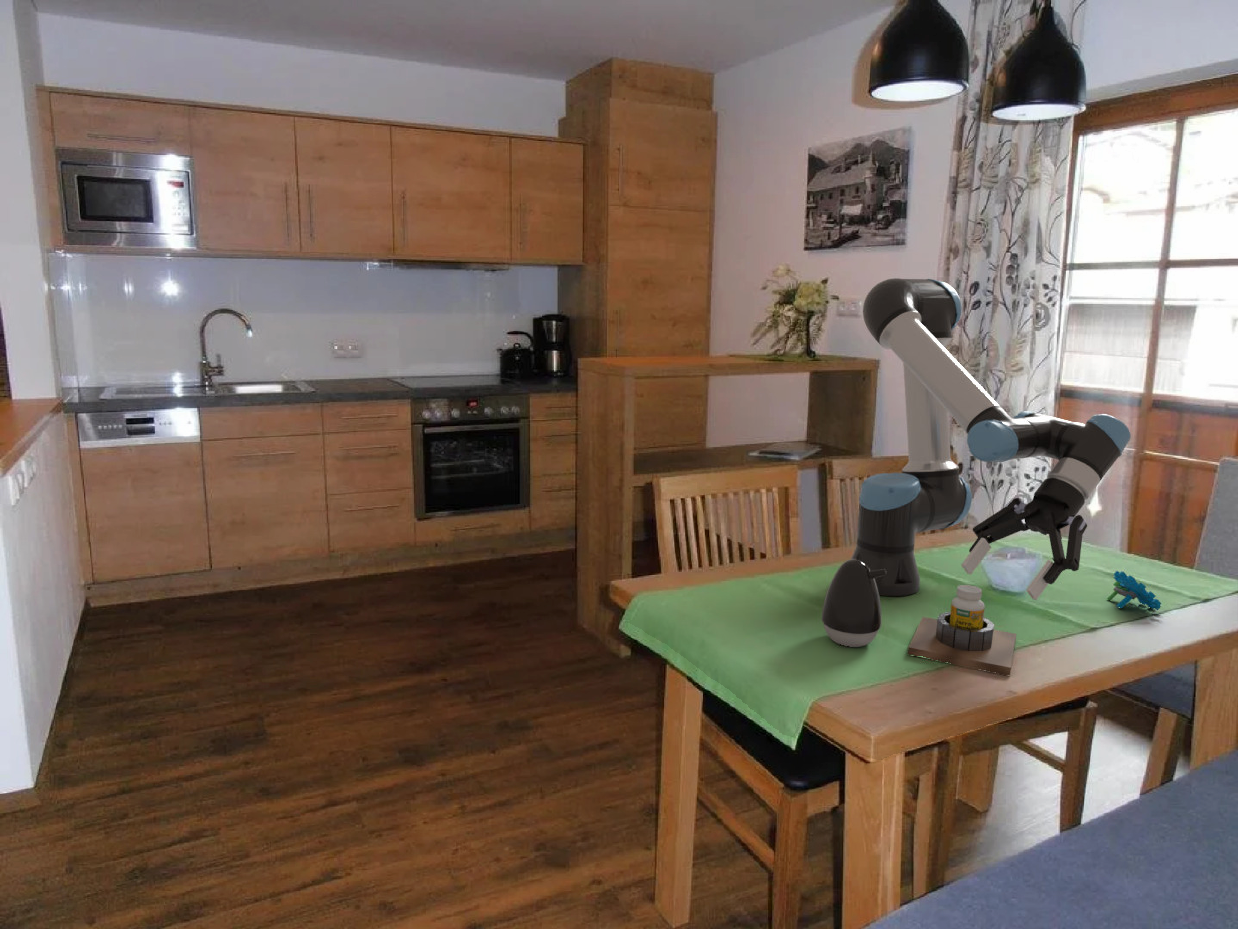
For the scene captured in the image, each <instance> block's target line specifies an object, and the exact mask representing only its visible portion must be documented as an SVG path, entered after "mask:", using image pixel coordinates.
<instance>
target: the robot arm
mask: <svg viewBox="0 0 1238 929" xmlns="http://www.w3.org/2000/svg"><path fill="white" fill-rule="evenodd" d="M962 310H963V309H962V302H961V299H960V296H959V294H958V292H957V291H956V289H955V288H954V287H953V286H951V285H950V284H949V283H947V282H944V281H942V280H936V279H931V278H926V279H924V278H923V279H922V278H921V279H920V278H916V279H915V278H899V277H898V278H895V277H894V278H888V279H885V280H882V281H881V282H878V283H877V284H875V285H874V286H873V287H872V288H871V290H869V292H868V293H867V295H866V297H865V299H864V301H863V306H862V315H863V322H864V324H865V326H866V328H867V330H868V332H869V333H870V334H871V336H872V338H873V339H874V340H875V341H876V342H877V343H878V344H879V345H880V346H881V347H882V348H883V349H886V350H891V351H892V352H893V354H895V355H896V357H898V359H899V360H900V361H901V362H902V364H903V379H904V396H905V398H904V400H905V411H906V412H905V413H906V414H905V416H906V418H905V419H906V432H907V435H906V436H907V451H908V452H907V453H908V462H907V463H906V464H905V465H904V466H903V468H902V469H901V472H891V473H888V472H887V473H886V472H883V473H877V474H873V475H870V476H869V477H867V478H866V479H864V481H862V483H861V489H860V493H859V498H858V501H859V504H858V506H859V508H858V518H857V519H858V521H857V534H856V546H855V549H854V551H853V554H852V556H851V557H850V560H851V559H858V560H861V561H863V562H865V563H866V564H867V565H868V567H869V568H870V570H871V571H872V570H880V569H885V570H886V575H884V576H880V577H877V578H874V579H875V581H876V584H877V588H878V592H879V596H884V597H887V596H888V597H902V596H903V597H904V596H905V597H906V596H909V595H912V594H913V595H914V594H915V593H917V592H919V590H920V585H921V584H920V583H921V577H920V573H919V569H918V565H917V561H916V556H915V541H916V540H915V539H916V534H918V533H924V532H930V531H934V530H944V529H947V528H950V527H953V526H955V525H958V524H959V523H961V522H962V521H963V520H964V519H965V518H966V517H967V515H968V513H969V512H970V510H971V506H972V501H973V499H972V497H973V496H972V491H971V488H970V485H969V483H967V482H966V480H965V478H963V477H962V476H960V467H959V465H958V464H956V463H955V462H954V461H953V459H952V458H951V443H950V442H951V441H950V422H949V421H950V420H949V415H951V417H952V418H953V419H954V420H955V421H956V422H957V424H958V425H959V426H960V427H961V428H962V430H964V431H965V432H966V433H967V438H966V444H967V446H968V451H969V452H970V454H971V455H972V456H973V457H974V458H975V459H976V460H979V461H981V462H985V463H1004V462H1007V461H1012V460H1018V459H1028V458H1035V457H1046V458H1049V459H1053V460H1057V462H1056V463H1055V465H1054V466H1053V468H1052V469H1051V470H1050V471H1049V473H1048V474H1047V476H1046V478H1045V479H1044V480H1043V481H1042V482H1041V484H1040V485H1039V486H1038V488H1036V491H1035V492H1034V495H1033V497H1032V500H1031V501H1030V502H1028V503H1025V502H1022V501H1021V500H1020V498H1018V497H1014V498H1013V499H1012V500H1011V501H1010V502H1009V503H1008V504H1007V505H1006V506H1005V507H1003V508H1001V509H1000V510H999V511H997V512H995V513H994V514H992V515H991V516H989V517H988V518H986V519H984V520H983V521H982V522H980V523H978V524H977V525H976V526H974V527H973V528H972V532H973V533H974V535H975V536H976V537H977V538H976V540H975V541H974V542H973V544H972V545H971V547H970V548H969V550H968V551H969V553H968V555H967V556H966V558H965V559H964V560H963V562H962V563H961V564H960V567H962V568H963V569H964V572H966V573H967V574H968V575H972V574H973V573H974V571H975V570H976V569H977V567H978V566H979V564H981V562H982V560H983V559H984V558H985V556H986V555H987V554H988V553H989V551H990V550H991V549H992V546H991V544H992V543H995V542H997V541H1000V540H1002V539H1005V538H1006V537H1009V536H1011V535H1014V534H1016V533H1018V532H1019V533H1020V532H1026V531H1028V530H1029V531H1031V532H1035V533H1040V534H1042V535H1044V536H1047V535H1048V538H1049V542H1050V543H1049V544H1050V548H1051V554H1052V557H1051V559H1052V560H1049V559H1047V561H1046V562H1045V563H1044V565H1043V566H1042V567H1041V568H1040V570H1039V571H1038V573H1037V574H1036V575H1035V577H1034V578H1033V579H1032V581H1031V582H1030V584H1029V585H1028V587H1027V588H1026V589H1025V591H1026V592H1027V593H1028V595H1029V596H1030V598H1031V599H1032V600H1035V601H1038V598H1040V596H1041V595H1042V593H1043V592H1044V590H1045V589H1046V588H1047V586H1048V585H1053V584H1054V583H1055V582H1056V581H1057V579H1058V578H1059V577H1060V576H1061V574H1062V573H1063V572H1065V571H1066V570H1071V571H1072V572H1077V571H1079V569H1080V561H1081V551H1082V543H1083V542H1082V541H1083V535H1084V533H1085V531H1086V529H1087V527H1088V524H1087V522H1086V521H1085V519H1084V518H1083V516H1082V515H1081V514H1078V513H1079V512H1080V510H1081V509H1082V507H1084V505H1085V503H1086V501H1087V500H1088V499H1089V498H1090V497H1091V495H1092V494H1093V492H1094V491H1095V490H1096V488H1097V487H1098V486H1099V484H1100V483H1101V481H1102V480H1103V478H1104V477H1105V475H1106V474H1107V473H1108V471H1109V470H1110V468H1111V467H1112V466H1113V465H1114V464H1115V462H1116V461H1117V460H1118V459H1119V458H1120V457H1121V455H1122V453H1123V451H1124V450H1125V449H1126V447H1127V445H1128V443H1129V441H1130V440H1131V435H1132V434H1131V432H1130V430H1129V427H1128V426H1127V425H1126V424H1125V423H1124V422H1123V421H1122V420H1120V419H1119V418H1117V417H1115V416H1112V415H1110V414H1106V413H1100V414H1094V415H1092V416H1091V417H1090V418H1089V419H1087V421H1086V422H1085V423H1081V422H1075V421H1070V420H1068V419H1067V420H1066V419H1063V418H1059V417H1055V416H1052V415H1047V414H1045V413H1043V412H1039V411H1038V412H1037V411H1036V412H1034V411H1030V410H1029V411H1028V410H1024V411H1020V412H1018V414H1017V415H1014V417H1012V416H1010V415H1009V413H1007V412H1006V410H1005V409H1003V407H1002V406H1000V404H998V402H997V401H996V400H995V399H994V398H993V397H992V396H991V395H990V394H989V393H988V392H987V391H986V390H985V389H984V387H983V386H981V384H979V382H978V381H977V380H976V379H974V377H973V376H972V375H971V374H970V373H969V372H968V371H967V370H966V369H965V368H964V367H963V365H961V364H960V362H958V360H957V359H956V358H955V357H954V356H953V355H952V353H950V352H949V351H948V350H947V349H946V347H947V346H948V345H949V344H950V343H951V341H952V340H953V338H952V337H953V336H952V331H953V330H954V329H955V328H956V326H957V323H958V322H959V321H960V319H961V317H962ZM1023 520H1024V522H1023ZM1068 526H1069V529H1068V537H1067V546H1066V547H1067V548H1066V556H1065V551H1064V545H1063V541H1062V539H1063V537H1062V532H1061V529H1064V528H1066V527H1068Z"/></svg>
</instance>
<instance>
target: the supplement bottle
mask: <svg viewBox="0 0 1238 929" xmlns="http://www.w3.org/2000/svg"><path fill="white" fill-rule="evenodd" d="M956 587H957V588H956V592H955V593H956V595H957V596H955V597H954V598H952V600H951V604H950V612H951V614H950V625H953V626H956V627H959V628H964V629H983V620H984V618H985V608H986V606H985V602H983V601H982V600H981V599H982V596H983V595H982V593H983V590H982V589H981V588H980V587H978V586H976V585H975V586H974V585H970V584H961V585H958V586H956Z"/></svg>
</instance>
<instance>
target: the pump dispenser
mask: <svg viewBox="0 0 1238 929" xmlns="http://www.w3.org/2000/svg"><path fill="white" fill-rule="evenodd" d="M884 575H886V570H885V569H880V570H872V571H871V570H870V568H869V567H868V565H867V564H866V563H865V562H863V561H861V560H858V559H851V558H850V559H847V560H845V561H844V562H843V563H841V565H840V566H839V567H838V569H837V570H836V572H835V573H834V576H833V578H832V579H831V582H830V584H829V586H828V589H827V592H826V594H825V598H824V601H823V606H822V611H821V612H822V613H821V622H822V623H823V628H824V630H825V633H826V635H827V636H828V638H830V639H831V640H832V641H834V643H837V644H838V645H840V644H841V646H843V645H844V646H843V647H847V646H849V647H848V648H859V647H864V646H866V645H868V644H870V643H872V642H873V640H874V639H875V638H876V636H877V635H878V633H879V631H880V629H881V627H882V607H881V606H882V604H881V598H880V595H879V592H878V588H877V584H876V581H875V579H874V578H877V577H880V576H884Z"/></svg>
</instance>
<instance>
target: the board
mask: <svg viewBox="0 0 1238 929" xmlns="http://www.w3.org/2000/svg"><path fill="white" fill-rule="evenodd" d="M937 619H938V618H937ZM937 619H936V618H931V617H926V616H922V618H921V620H920V621H919V624H918V626H917V628H916V630H915V632H914V635H913V637H912V638H911V641H910V644H909V645H908V647H907V648H908V650H907V655H908V654H909V655H914V656H923V657H926V658H930V659H933V660H938V661H941V662H940V663H942V662H948V663H951V664H950V665H952V664H954V665H953V666H958V667H962V666H963V667H962V668H967V669H972V670H977V669H981V670H986V671H990V672H989V673H991V672H996V673H999V674H998V675H1001V674H1004V675H1003V676H1006V675H1010V676H1011V673H1012V666H1013V665H1012V664H1013V659H1014V655H1015V654H1014V653H1015V647H1016V642H1017V641H1016V639H1017V633H1013V632H1010V631H1009V632H1008V631H1003V630H997V629H994V631H993V639H992V646H991V648H990V649H987V650H984V651H965V650H960V649H955V648H952V647H949V646H947V645H944V644H942V643H941V642H940V641H939V640H938V639H937V638H936V629H937ZM933 660H932V661H933ZM981 670H980V671H981ZM986 671H985V672H986ZM996 673H995V674H996Z"/></svg>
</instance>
